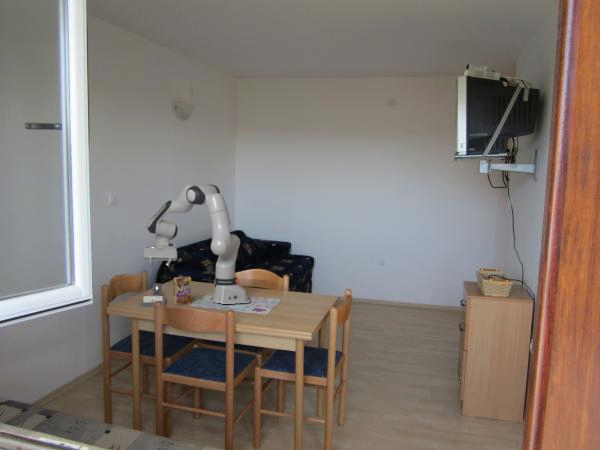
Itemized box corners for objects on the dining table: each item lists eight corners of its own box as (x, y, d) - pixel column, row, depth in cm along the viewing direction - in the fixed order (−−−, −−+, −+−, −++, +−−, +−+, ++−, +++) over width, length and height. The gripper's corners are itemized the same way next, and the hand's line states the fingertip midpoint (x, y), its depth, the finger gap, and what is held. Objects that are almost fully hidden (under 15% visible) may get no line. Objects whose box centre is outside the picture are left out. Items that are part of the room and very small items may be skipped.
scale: (166, 300, 264) (166, 291, 264) (164, 306, 252) (164, 297, 251) (144, 301, 262) (144, 291, 261) (141, 307, 250) (141, 297, 249)
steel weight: (162, 296, 274) (162, 283, 273) (161, 298, 269) (161, 285, 268) (153, 296, 273) (153, 283, 272) (152, 298, 268) (152, 285, 267)
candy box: (175, 305, 255) (175, 278, 254) (172, 303, 259) (173, 277, 257) (190, 303, 260) (191, 277, 259) (188, 302, 264) (188, 275, 262)
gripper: (144, 243, 285) (141, 262, 277) (177, 244, 289) (176, 262, 281) (144, 249, 290) (142, 267, 282) (178, 250, 294) (176, 268, 286)
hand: (159, 265), depth 281 cm, fingers open, 8 cm apart
